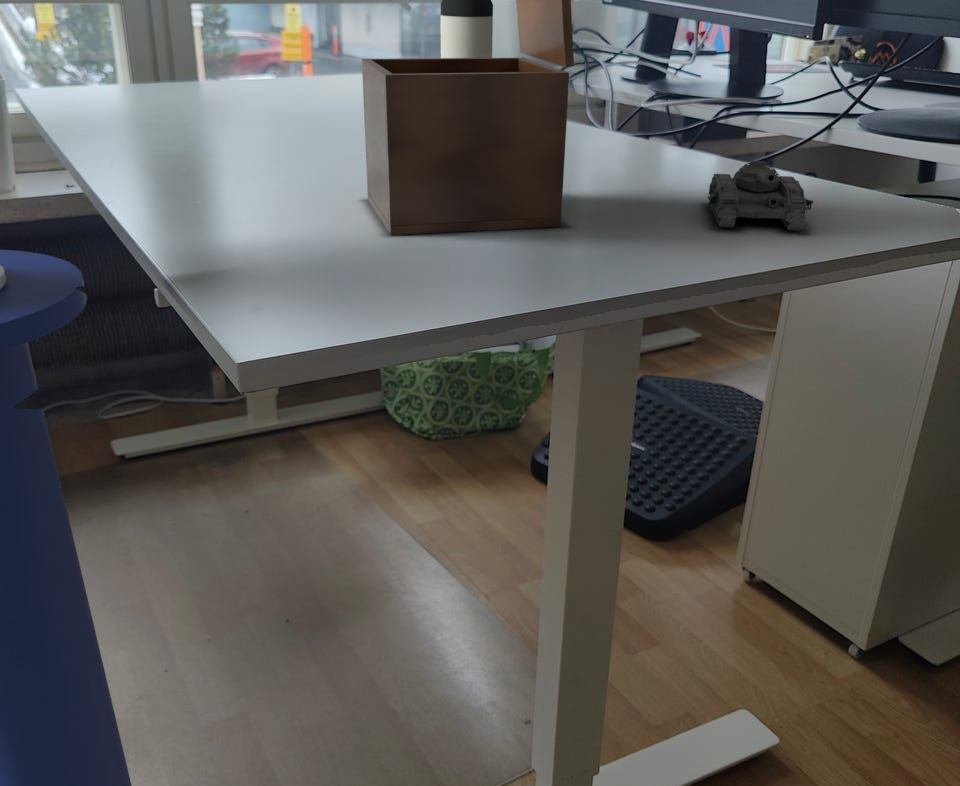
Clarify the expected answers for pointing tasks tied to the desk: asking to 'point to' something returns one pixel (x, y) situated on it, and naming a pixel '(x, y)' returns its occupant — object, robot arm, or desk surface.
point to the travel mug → (466, 28)
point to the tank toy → (758, 196)
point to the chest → (464, 143)
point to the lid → (546, 30)
